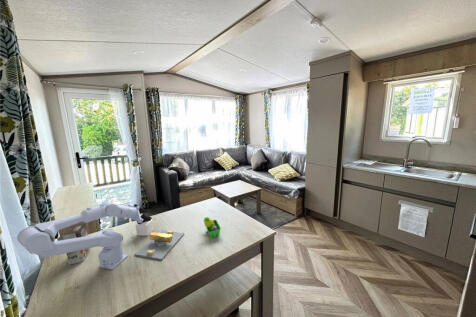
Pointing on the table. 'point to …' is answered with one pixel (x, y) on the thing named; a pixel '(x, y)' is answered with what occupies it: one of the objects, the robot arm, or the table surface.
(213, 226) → the fruit basket
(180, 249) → the table surface
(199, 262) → the table surface
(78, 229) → the coffee box
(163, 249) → the base
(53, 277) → the table surface
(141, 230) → the medicine bottle
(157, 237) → the long golden bar
